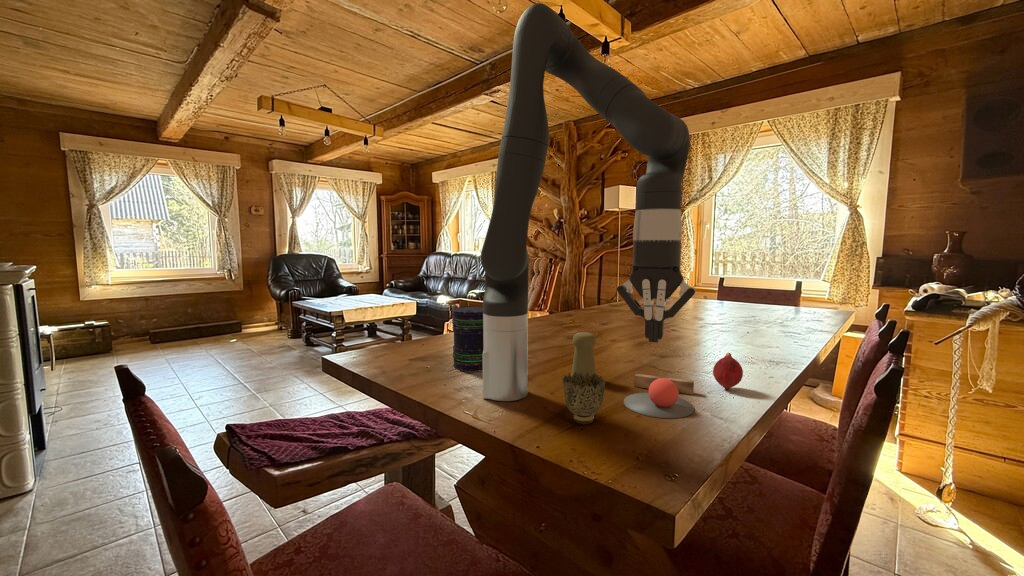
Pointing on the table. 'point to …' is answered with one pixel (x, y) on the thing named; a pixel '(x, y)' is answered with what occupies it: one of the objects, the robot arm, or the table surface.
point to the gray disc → (657, 407)
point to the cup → (583, 395)
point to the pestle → (583, 353)
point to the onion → (727, 371)
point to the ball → (663, 392)
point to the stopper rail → (681, 384)
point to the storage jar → (468, 338)
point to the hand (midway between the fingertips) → (653, 341)
